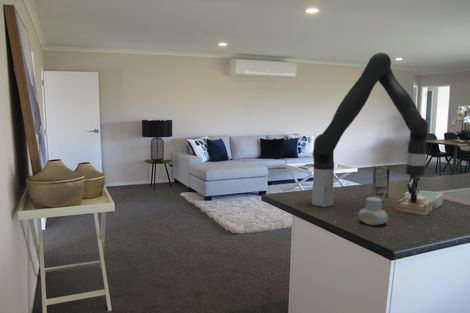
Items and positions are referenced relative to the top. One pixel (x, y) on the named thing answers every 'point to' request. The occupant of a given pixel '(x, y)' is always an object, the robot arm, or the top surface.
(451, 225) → the top surface
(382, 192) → the coffee box
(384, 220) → the air freshener
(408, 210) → the beige shallow box
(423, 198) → the tile
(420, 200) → the tile
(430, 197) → the tray
